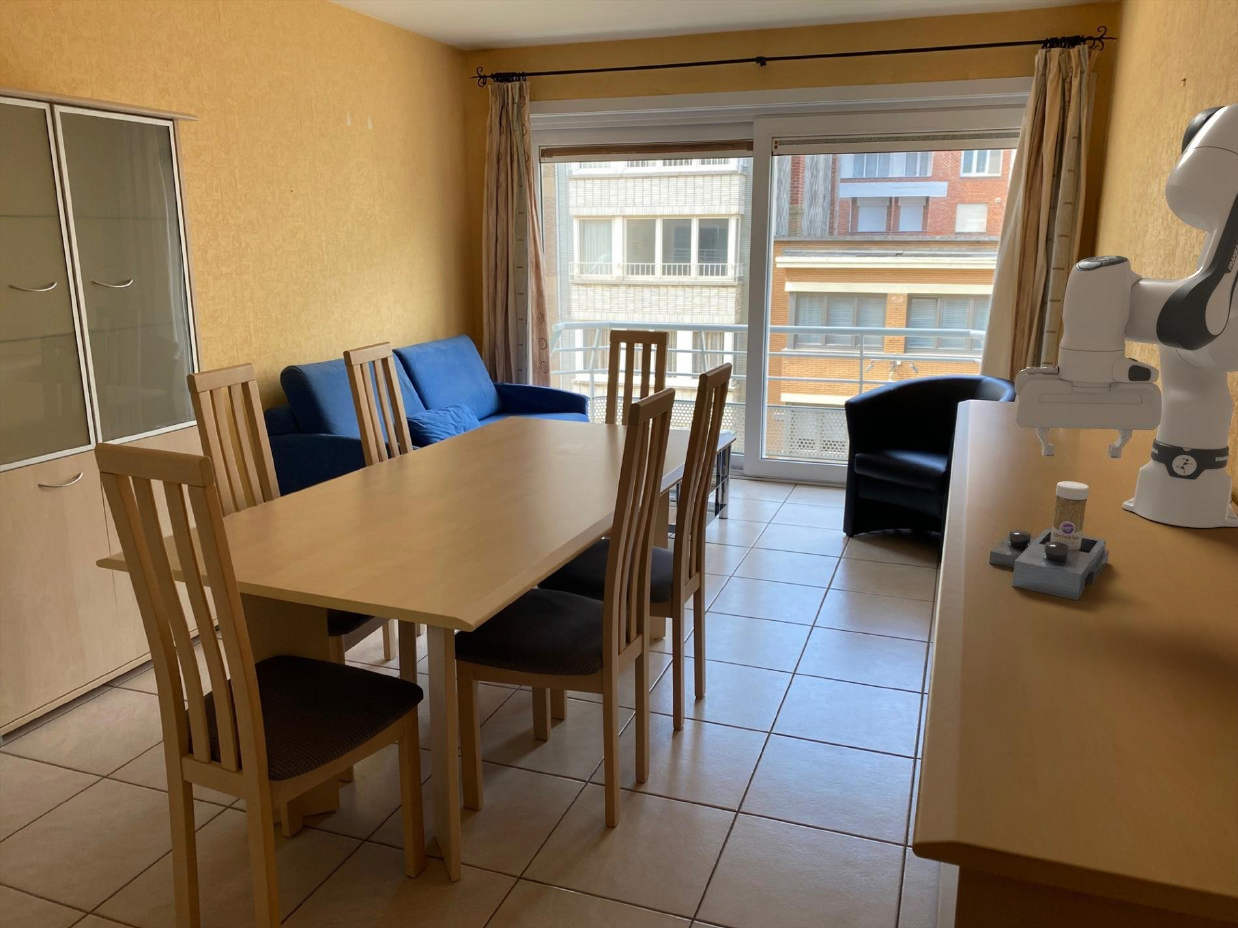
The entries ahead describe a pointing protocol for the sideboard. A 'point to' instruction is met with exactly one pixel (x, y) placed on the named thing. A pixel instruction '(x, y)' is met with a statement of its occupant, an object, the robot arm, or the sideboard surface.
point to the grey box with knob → (1056, 566)
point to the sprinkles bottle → (1069, 514)
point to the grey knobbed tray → (1021, 541)
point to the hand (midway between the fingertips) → (1080, 456)
